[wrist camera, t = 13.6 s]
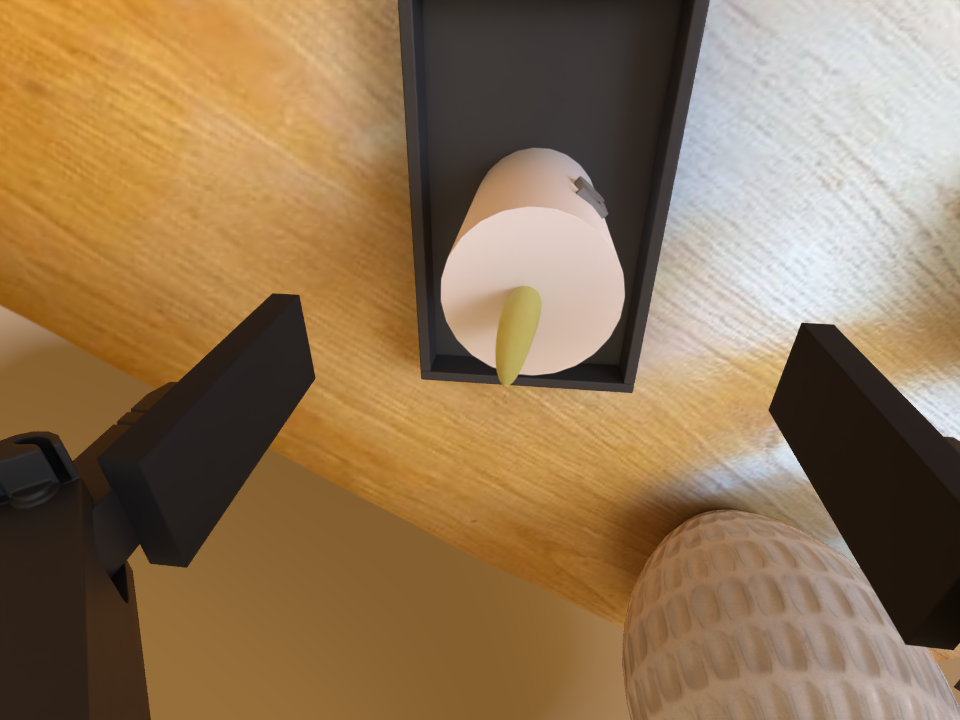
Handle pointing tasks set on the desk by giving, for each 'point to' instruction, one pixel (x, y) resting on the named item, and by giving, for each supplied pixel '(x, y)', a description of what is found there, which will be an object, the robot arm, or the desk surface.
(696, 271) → the desk surface
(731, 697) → the vase
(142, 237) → the desk surface
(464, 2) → the tray
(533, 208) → the candle
